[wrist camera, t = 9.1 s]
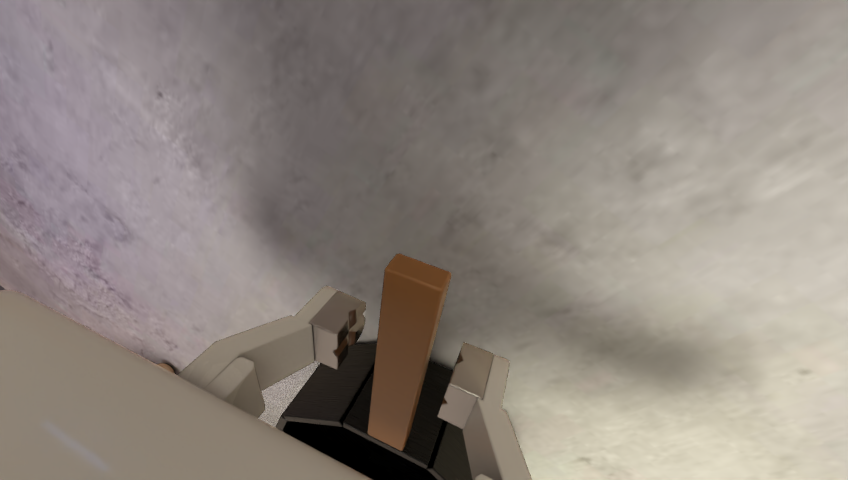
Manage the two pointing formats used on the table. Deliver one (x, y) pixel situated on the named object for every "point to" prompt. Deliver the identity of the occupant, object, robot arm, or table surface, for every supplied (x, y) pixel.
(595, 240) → the table surface
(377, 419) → the saucepan
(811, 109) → the table surface
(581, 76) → the table surface
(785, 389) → the table surface
